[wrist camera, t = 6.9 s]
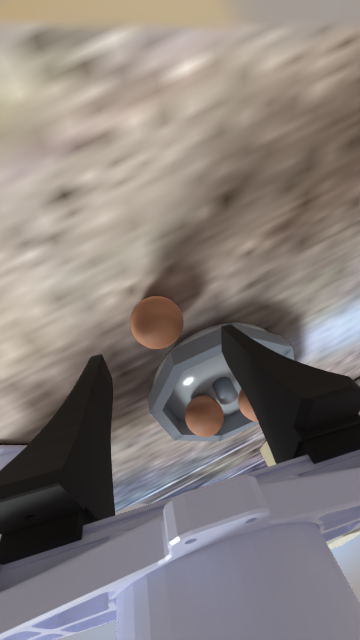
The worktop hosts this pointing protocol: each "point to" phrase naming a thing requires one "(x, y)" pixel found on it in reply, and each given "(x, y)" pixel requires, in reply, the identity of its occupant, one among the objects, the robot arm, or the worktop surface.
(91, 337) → the worktop surface
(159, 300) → the bead
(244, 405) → the bead seated
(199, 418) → the bead
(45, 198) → the worktop surface
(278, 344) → the groove tray
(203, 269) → the worktop surface
